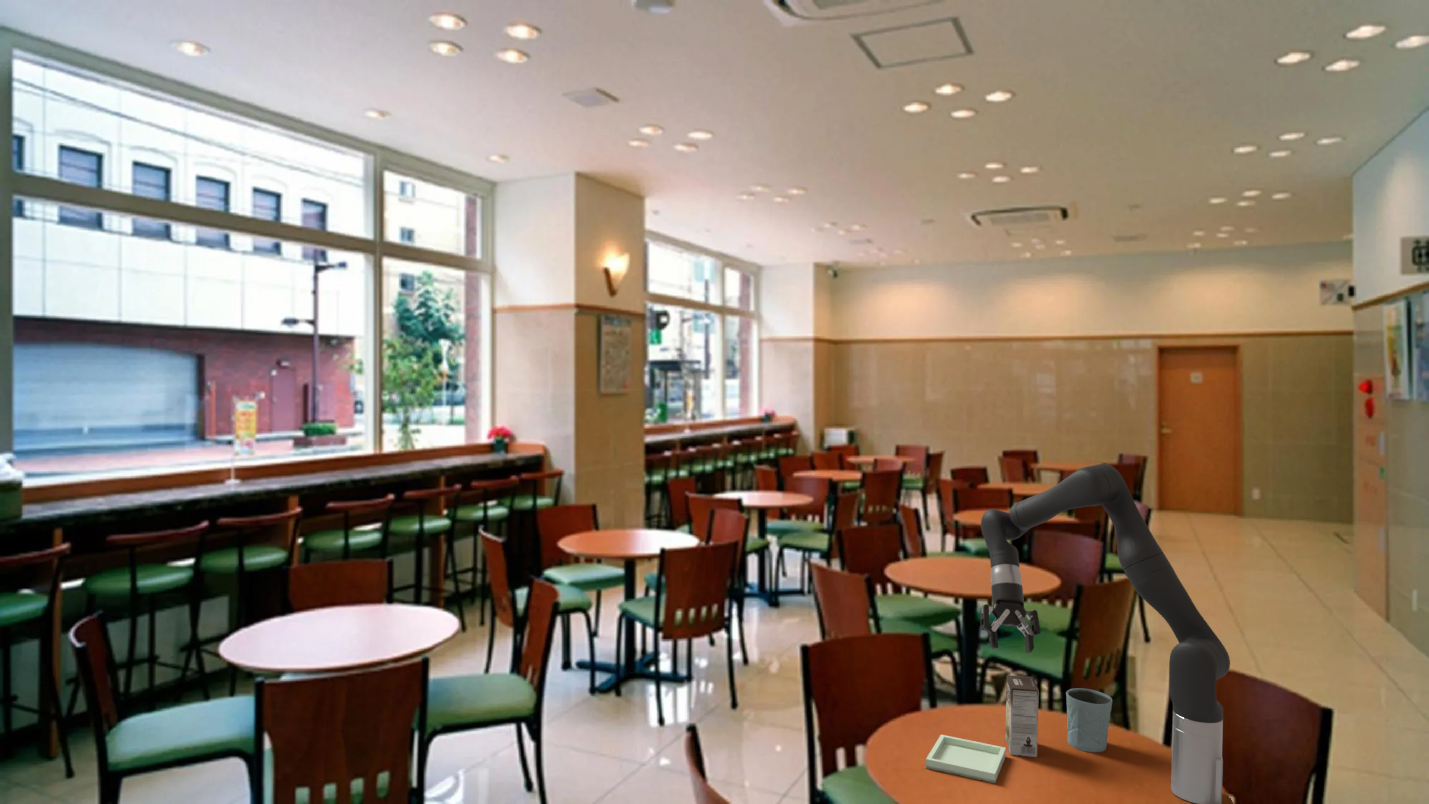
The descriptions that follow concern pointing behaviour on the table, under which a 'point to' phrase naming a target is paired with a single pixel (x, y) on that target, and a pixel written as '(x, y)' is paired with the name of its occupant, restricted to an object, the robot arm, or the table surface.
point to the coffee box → (1022, 715)
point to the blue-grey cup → (1088, 719)
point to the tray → (966, 758)
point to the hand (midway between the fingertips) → (1012, 650)
